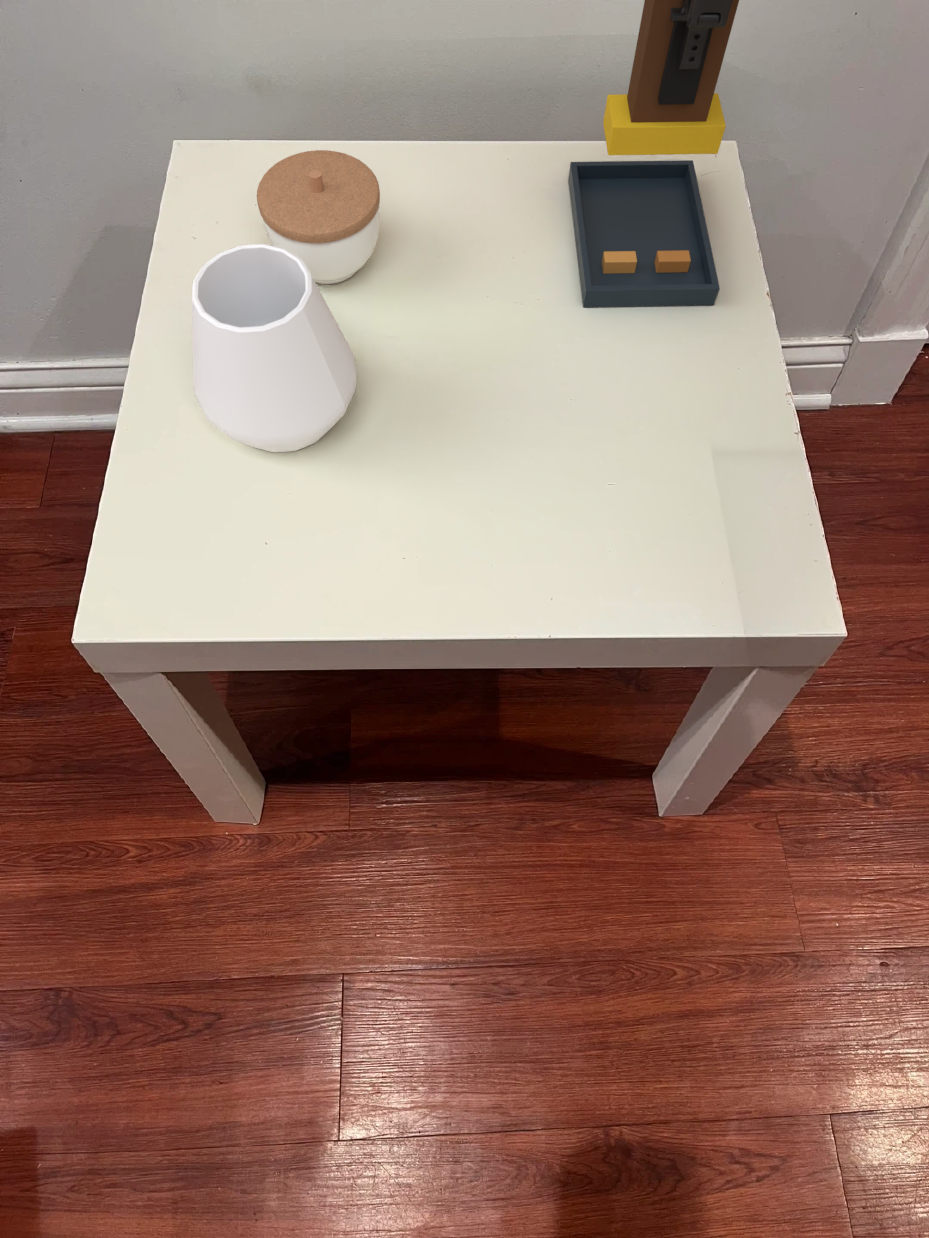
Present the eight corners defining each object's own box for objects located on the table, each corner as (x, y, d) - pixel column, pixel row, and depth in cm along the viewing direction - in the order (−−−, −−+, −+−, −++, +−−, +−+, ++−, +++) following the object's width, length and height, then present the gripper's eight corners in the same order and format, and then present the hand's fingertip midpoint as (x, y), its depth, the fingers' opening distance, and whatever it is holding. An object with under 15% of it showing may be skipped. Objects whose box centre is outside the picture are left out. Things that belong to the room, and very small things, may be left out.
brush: (710, 121, 75) (755, -43, 64) (717, 154, 73) (765, -9, 62) (602, 123, 75) (629, -42, 63) (607, 155, 73) (635, -8, 62)
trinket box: (252, 283, 84) (229, 197, 76) (303, 209, 88) (287, 120, 80) (356, 316, 82) (345, 232, 74) (403, 239, 87) (397, 151, 78)
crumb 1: (634, 273, 84) (637, 261, 83) (602, 274, 84) (605, 262, 83) (632, 262, 85) (635, 250, 84) (601, 263, 85) (603, 251, 84)
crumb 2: (687, 272, 84) (691, 261, 83) (655, 273, 84) (658, 261, 83) (685, 262, 85) (689, 250, 84) (654, 262, 85) (657, 250, 84)
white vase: (263, 329, 82) (228, 197, 69) (390, 385, 79) (378, 259, 66) (174, 434, 76) (119, 312, 64) (307, 497, 74) (277, 384, 61)
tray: (713, 305, 83) (719, 288, 81) (583, 308, 83) (585, 290, 81) (688, 178, 91) (693, 160, 89) (567, 180, 91) (570, 161, 89)
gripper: (678, -395, 52) (613, 22, 73) (722, -262, 45) (636, 156, 66) (806, -394, 52) (704, 22, 73) (869, -262, 45) (737, 155, 67)
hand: (672, 85), depth 70 cm, fingers closed on brush, 3 cm apart
